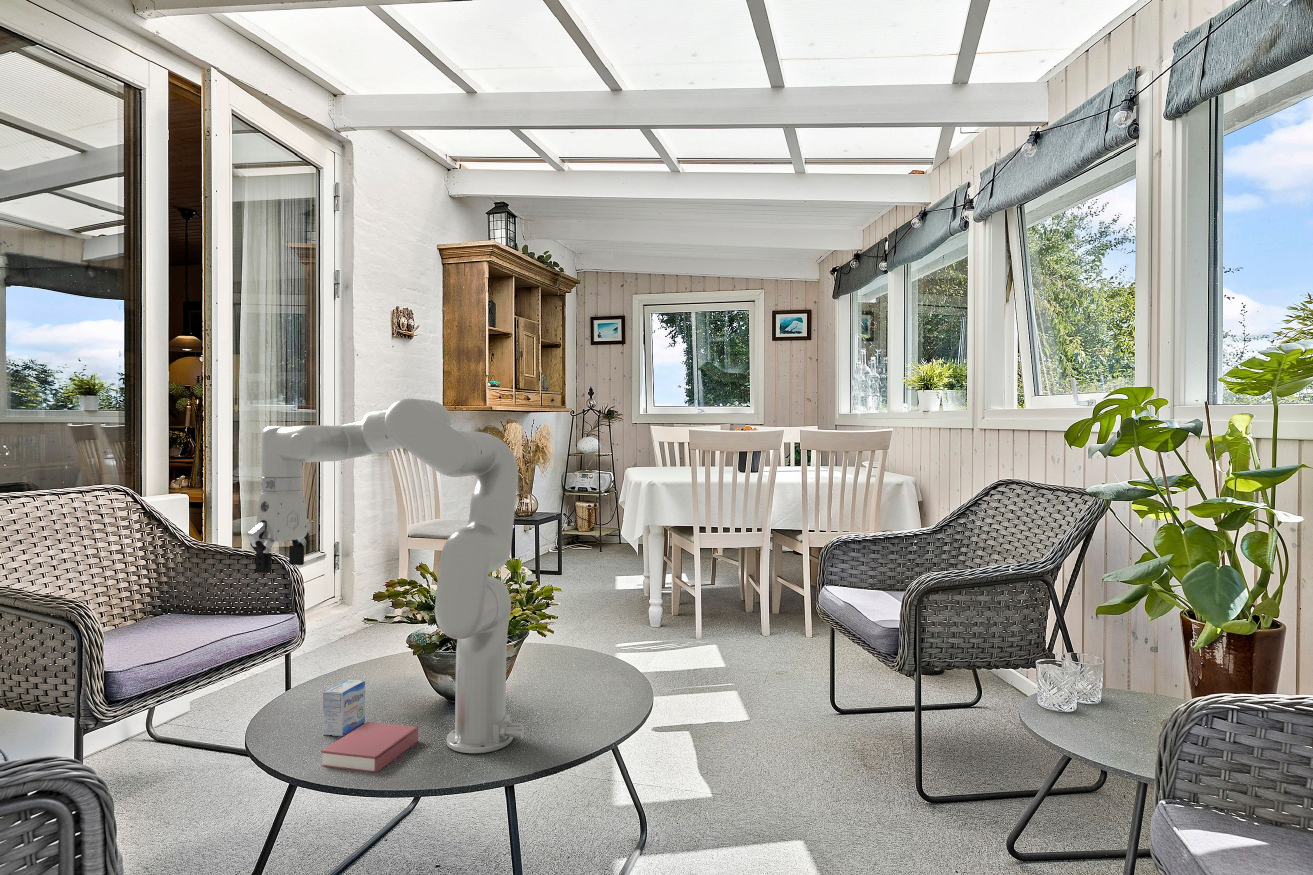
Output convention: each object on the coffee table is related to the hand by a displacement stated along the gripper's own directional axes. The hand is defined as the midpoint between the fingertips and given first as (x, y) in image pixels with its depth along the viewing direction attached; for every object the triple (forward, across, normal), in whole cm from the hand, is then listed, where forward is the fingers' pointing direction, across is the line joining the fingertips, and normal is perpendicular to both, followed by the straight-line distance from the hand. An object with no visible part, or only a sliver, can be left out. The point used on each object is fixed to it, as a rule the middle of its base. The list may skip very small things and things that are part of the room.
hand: (280, 568), depth 155 cm
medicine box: (+32, -1, -16) cm, 35 cm away
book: (+32, -10, -28) cm, 43 cm away
